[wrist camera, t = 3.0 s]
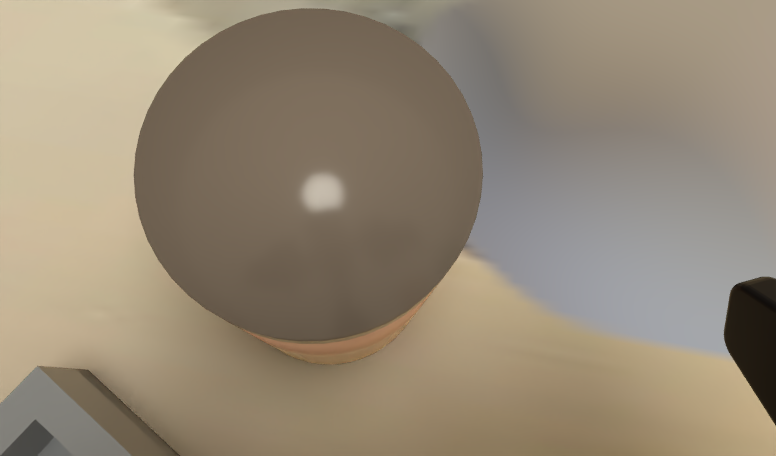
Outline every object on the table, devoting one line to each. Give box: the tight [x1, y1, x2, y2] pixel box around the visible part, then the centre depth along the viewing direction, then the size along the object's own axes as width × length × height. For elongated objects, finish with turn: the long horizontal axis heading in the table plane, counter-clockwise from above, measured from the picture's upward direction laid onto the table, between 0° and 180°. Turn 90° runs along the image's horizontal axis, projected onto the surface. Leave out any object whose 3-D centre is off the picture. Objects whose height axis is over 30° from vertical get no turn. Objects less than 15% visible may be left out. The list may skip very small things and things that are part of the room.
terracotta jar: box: [134, 9, 483, 364], centre depth 15 cm, size 5×5×9 cm
